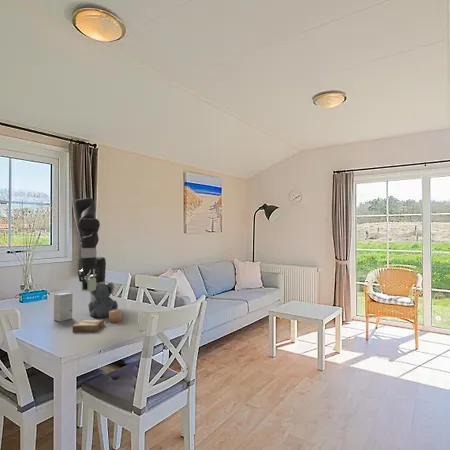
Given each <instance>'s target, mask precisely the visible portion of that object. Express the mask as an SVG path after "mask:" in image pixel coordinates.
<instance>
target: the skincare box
mask: <svg viewBox="0 0 450 450" xmlns="http://www.w3.org/2000/svg"><path fill="white" fill-rule="evenodd" d="M72 319H73V293H72V292H61V293H56V294H53V320H54V321H56V322H63V321H67V320H72Z"/></svg>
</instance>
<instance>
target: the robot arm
mask: <svg viewBox="0 0 450 450" xmlns="http://www.w3.org/2000/svg"><path fill="white" fill-rule="evenodd" d="M74 207H75V208H74V209H75V211H76V216H77V218H78V224H77V228H78V230H79V231H80V233H81V237H82V238H81V252H80V260H81V261H80V262H81V263H80V265H81V266H82V268H81V270H78V271H77V275H78V280H79V282H81V283H82V282H83V290H87V281H88V278H95V279H96V286H98V285H99V284H106V270H107V269H106V266H107V262H106V260H107V259H106V258H105V257H104V256H103V257H102V256H97V254H98V253H97V252H98V251H97V246H98V243H99V239H100V238H99V234H98V232H99V229H100V227H101V222H100V221H99V219H97V218H95V215H96V203H95V200H94V199H93V198H92V197H86V198H80V199H75V201H74ZM94 300H97V299H96V298H95V296H94V295H92V294H90V293H89V303H90V302H94Z"/></svg>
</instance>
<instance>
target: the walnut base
mask: <svg viewBox="0 0 450 450" xmlns="http://www.w3.org/2000/svg"><path fill="white" fill-rule="evenodd" d="M104 325H105V319H102V318H101V319H80V320H79V321H78V322H76V323H75V324H73V325H72V333H93V332H95V333H97V332H98V331H99V330H100V329H101V328H103V326H104Z"/></svg>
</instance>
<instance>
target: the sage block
mask: <svg viewBox="0 0 450 450" xmlns="http://www.w3.org/2000/svg"><path fill="white" fill-rule="evenodd" d="M94 290H96V279H95V278H90V277H89V278H88V281H87V290H83V282H81V292H89V293H90V291H94Z"/></svg>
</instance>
